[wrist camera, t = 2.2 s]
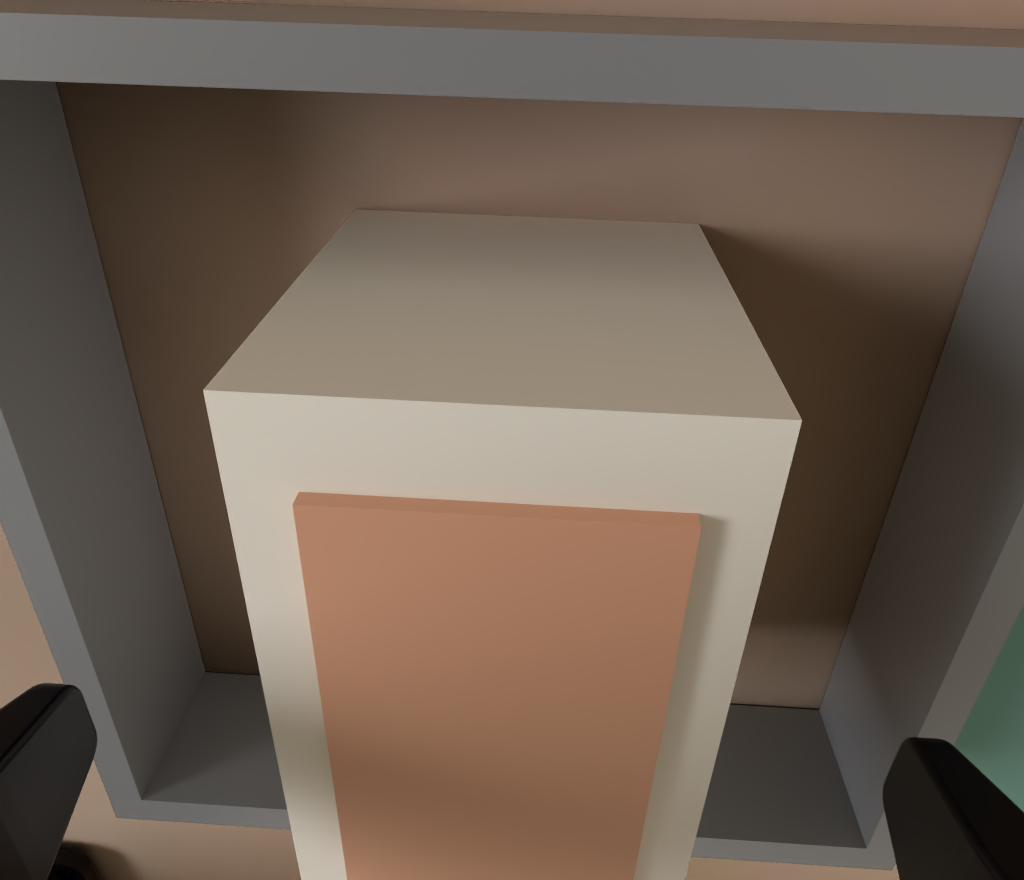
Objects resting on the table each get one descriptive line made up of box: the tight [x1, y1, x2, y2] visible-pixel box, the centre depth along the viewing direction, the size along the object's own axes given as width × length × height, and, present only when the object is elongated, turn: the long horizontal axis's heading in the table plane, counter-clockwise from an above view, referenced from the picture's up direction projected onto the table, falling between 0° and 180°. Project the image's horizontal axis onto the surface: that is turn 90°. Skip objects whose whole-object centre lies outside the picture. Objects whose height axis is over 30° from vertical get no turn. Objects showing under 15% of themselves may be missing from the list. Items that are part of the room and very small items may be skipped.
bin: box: [0, 0, 1024, 870], centre depth 12 cm, size 14×13×3 cm
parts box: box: [203, 209, 802, 880], centre depth 11 cm, size 5×8×6 cm, turn 179°
